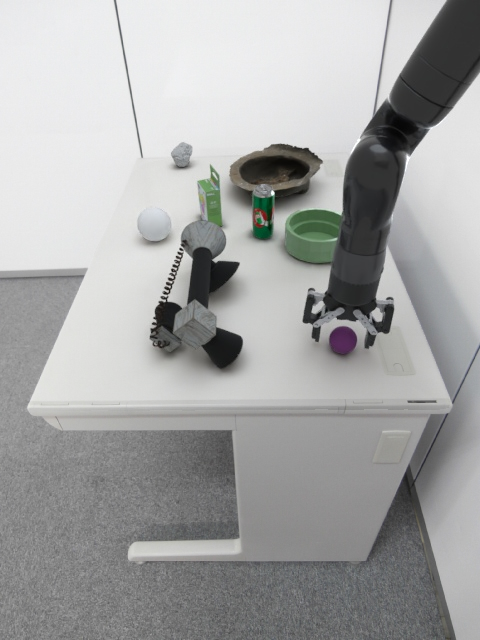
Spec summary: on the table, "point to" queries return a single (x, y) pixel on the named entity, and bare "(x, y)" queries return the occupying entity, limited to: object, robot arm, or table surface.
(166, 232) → the ball
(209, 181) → the ink box
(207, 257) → the telephone
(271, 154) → the stone bowl
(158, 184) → the table surface
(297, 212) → the green bowl
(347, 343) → the plum ball
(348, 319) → the robot arm
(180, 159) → the grey muffin
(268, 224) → the soda can
